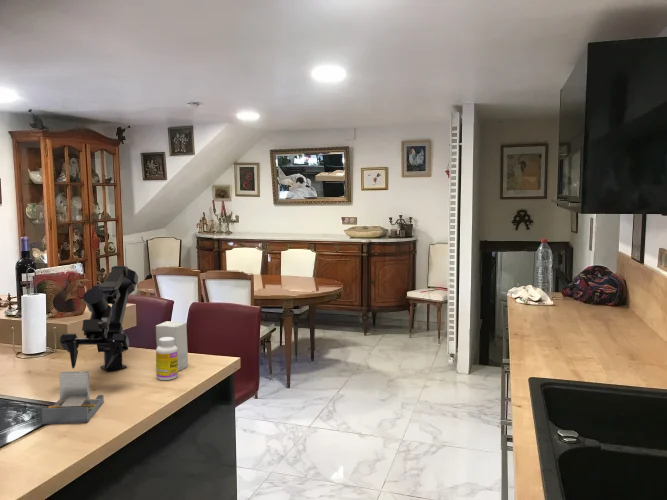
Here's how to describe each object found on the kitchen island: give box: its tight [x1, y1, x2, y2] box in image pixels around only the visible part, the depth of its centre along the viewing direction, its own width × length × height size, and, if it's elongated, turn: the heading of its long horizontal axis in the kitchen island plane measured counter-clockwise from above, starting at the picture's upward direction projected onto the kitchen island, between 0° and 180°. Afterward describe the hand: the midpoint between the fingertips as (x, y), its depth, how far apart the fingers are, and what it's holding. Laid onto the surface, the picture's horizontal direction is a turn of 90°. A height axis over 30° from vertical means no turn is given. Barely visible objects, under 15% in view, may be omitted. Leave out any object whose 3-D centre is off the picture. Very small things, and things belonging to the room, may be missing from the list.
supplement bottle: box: [155, 337, 179, 381], centre depth 170 cm, size 7×7×13 cm
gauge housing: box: [41, 394, 105, 425], centre depth 142 cm, size 14×11×4 cm
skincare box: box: [155, 320, 189, 372], centre depth 179 cm, size 8×7×16 cm
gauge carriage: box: [47, 370, 95, 408], centre depth 141 cm, size 4×12×10 cm, turn 97°
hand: (89, 367), depth 154 cm, fingers open, 9 cm apart
